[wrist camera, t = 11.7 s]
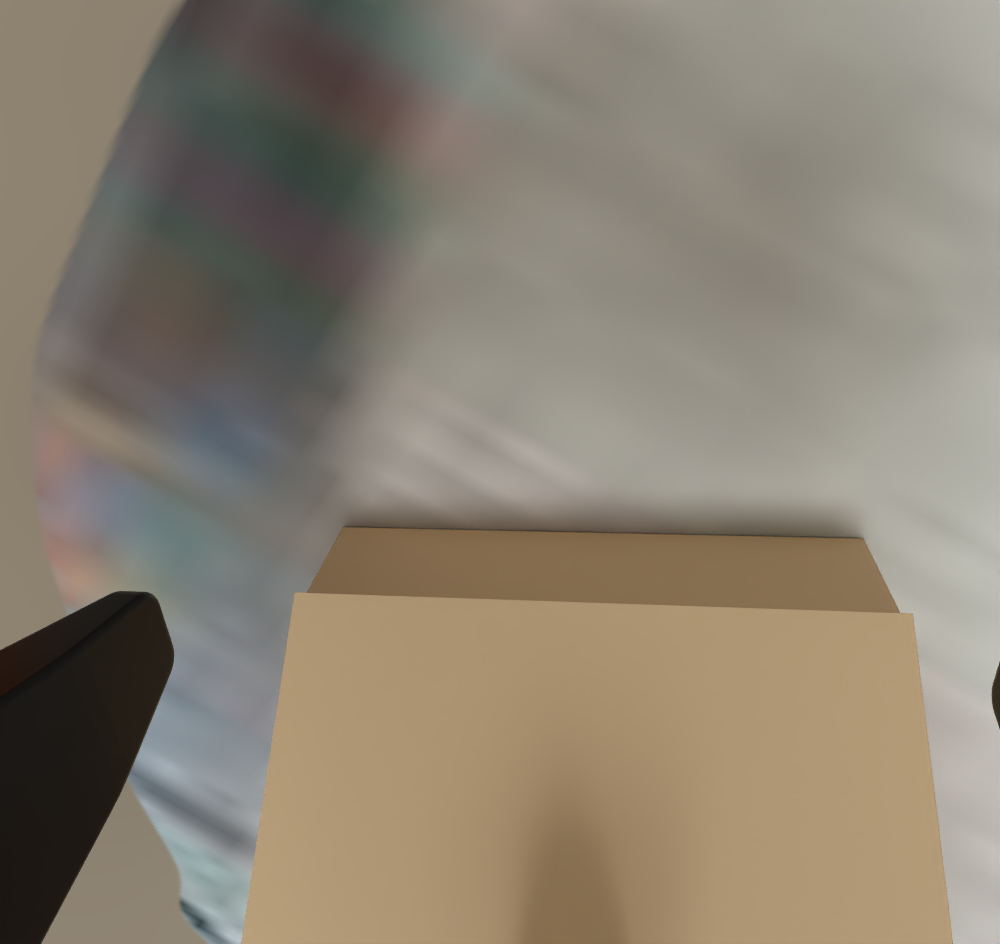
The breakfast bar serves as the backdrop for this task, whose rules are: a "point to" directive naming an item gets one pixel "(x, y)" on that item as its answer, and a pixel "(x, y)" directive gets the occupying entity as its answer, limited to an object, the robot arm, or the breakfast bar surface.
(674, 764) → the lid flap
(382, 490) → the breakfast bar surface
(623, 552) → the carton
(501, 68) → the breakfast bar surface
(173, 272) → the breakfast bar surface
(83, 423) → the breakfast bar surface
